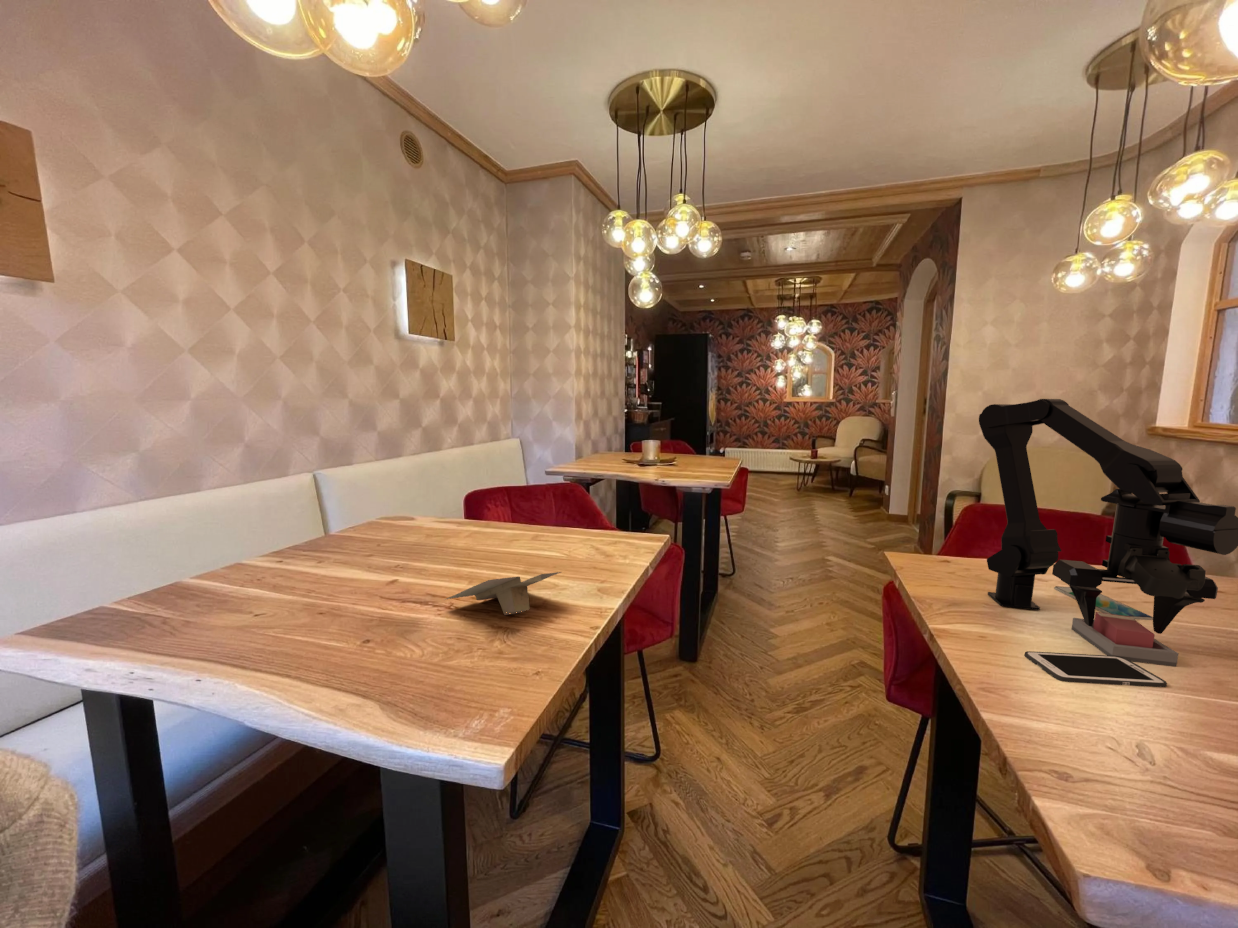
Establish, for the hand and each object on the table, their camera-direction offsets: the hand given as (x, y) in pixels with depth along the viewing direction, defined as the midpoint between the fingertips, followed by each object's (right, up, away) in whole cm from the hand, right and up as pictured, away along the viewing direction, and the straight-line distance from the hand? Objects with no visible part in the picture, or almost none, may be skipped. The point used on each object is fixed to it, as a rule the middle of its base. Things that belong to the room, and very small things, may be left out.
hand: (1122, 628), depth 84 cm
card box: (0, -2, 0) cm, 2 cm away
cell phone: (-11, -4, -7) cm, 14 cm away
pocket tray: (0, -3, 0) cm, 3 cm away
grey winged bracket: (-103, 0, +11) cm, 103 cm away
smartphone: (+14, -1, +18) cm, 23 cm away
